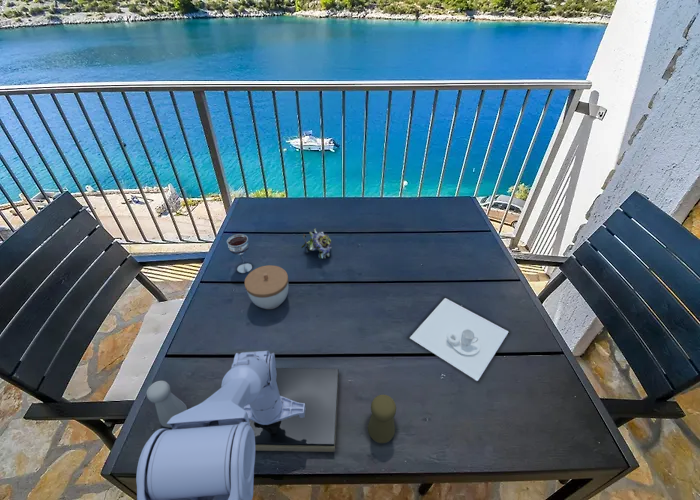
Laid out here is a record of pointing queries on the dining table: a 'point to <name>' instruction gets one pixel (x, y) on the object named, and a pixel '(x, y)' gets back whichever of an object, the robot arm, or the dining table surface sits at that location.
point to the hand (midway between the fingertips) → (274, 428)
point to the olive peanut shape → (382, 419)
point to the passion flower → (319, 244)
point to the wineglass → (239, 250)
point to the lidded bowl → (267, 286)
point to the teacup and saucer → (460, 337)
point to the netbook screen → (319, 414)
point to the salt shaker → (165, 402)
